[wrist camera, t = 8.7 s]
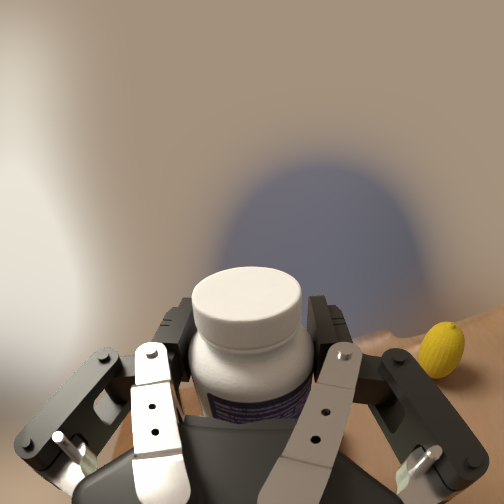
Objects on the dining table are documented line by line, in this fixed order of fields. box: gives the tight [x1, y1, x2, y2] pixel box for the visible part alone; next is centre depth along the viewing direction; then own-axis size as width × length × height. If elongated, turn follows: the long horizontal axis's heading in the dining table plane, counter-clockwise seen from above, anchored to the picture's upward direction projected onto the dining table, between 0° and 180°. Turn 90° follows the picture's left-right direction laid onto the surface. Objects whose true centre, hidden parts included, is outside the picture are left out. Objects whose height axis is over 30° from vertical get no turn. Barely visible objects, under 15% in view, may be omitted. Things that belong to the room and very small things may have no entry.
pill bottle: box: [188, 267, 315, 426], centre depth 12 cm, size 5×5×9 cm
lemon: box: [418, 322, 465, 379], centre depth 25 cm, size 6×6×8 cm
